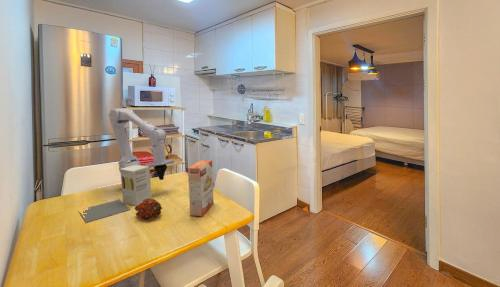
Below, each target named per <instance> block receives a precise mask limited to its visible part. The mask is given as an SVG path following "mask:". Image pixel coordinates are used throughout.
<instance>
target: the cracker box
mask: <svg viewBox="0 0 500 287" xmlns="http://www.w3.org/2000/svg"><path fill="white" fill-rule="evenodd" d="M187 177H188V180H187V181H188V197H189V211H190V212H189V213H190V216H192V217H203V216H205V214H206V213H207V212H208V211H209V209H210V208H211V207H212V206H213V205H214V182H213V181H214V180H213V179H214V178H213V160H210V159H209V160H208V159H200V160H198V161H197V162H195V163H193V164H192V165H190V166H189V167H188V168H187Z"/></svg>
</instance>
